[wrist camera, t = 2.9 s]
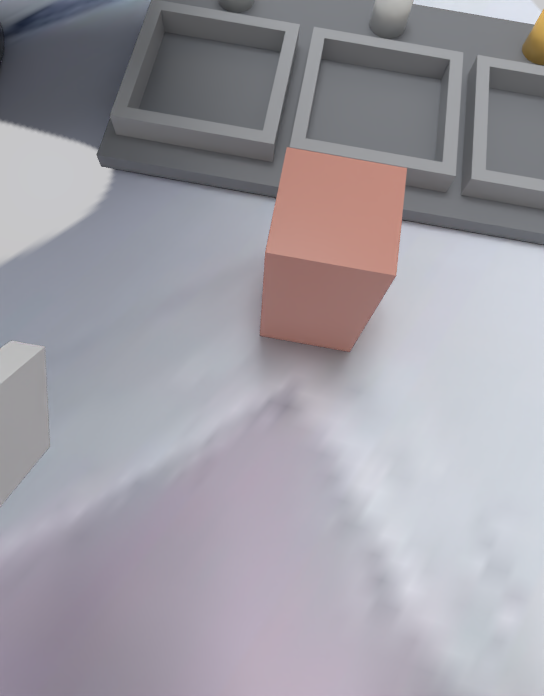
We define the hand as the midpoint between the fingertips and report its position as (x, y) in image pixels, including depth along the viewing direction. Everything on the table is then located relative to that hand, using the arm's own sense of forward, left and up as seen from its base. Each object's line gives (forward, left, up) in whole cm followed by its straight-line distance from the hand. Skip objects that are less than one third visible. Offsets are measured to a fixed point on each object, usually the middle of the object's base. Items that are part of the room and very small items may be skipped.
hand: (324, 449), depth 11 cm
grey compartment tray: (+2, +25, -14) cm, 29 cm away
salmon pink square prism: (0, +10, -14) cm, 17 cm away
